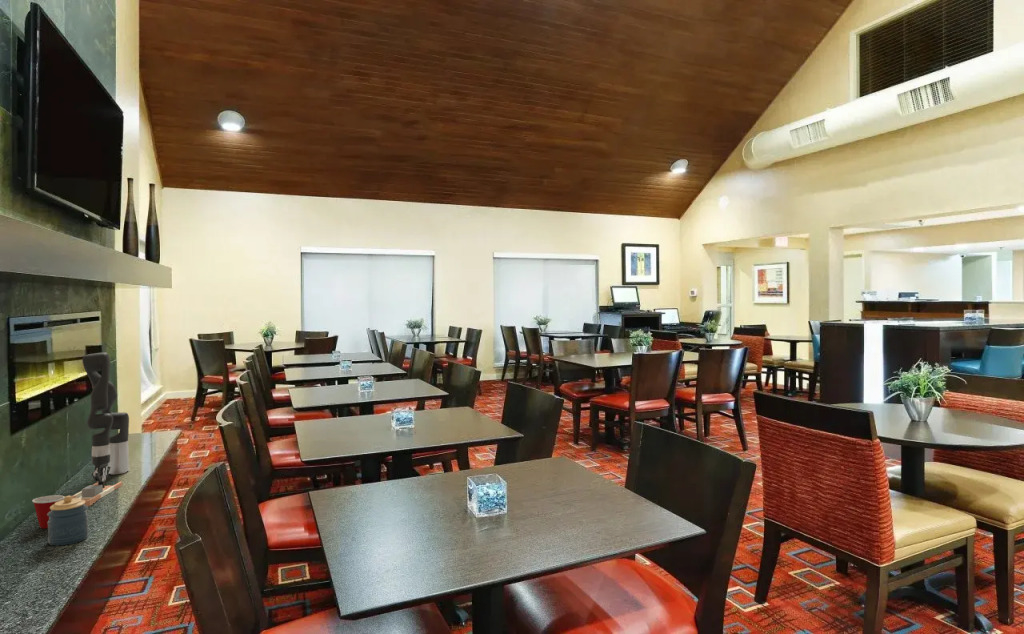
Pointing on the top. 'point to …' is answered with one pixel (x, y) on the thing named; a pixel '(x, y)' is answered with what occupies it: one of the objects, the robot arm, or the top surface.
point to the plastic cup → (45, 508)
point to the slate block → (92, 490)
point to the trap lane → (92, 500)
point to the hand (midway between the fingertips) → (101, 488)
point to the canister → (67, 521)
